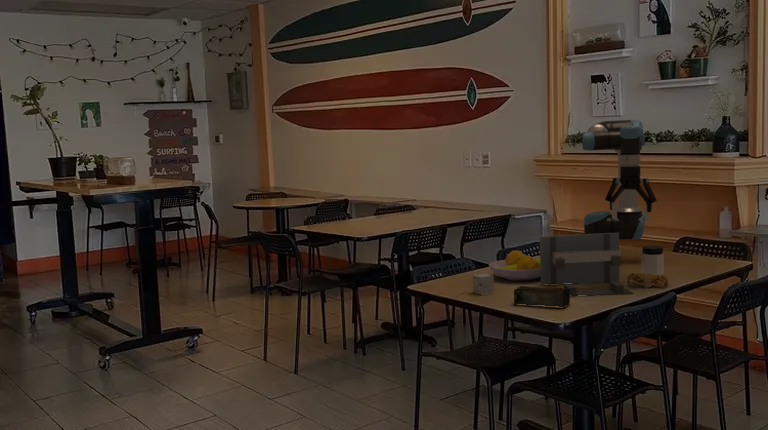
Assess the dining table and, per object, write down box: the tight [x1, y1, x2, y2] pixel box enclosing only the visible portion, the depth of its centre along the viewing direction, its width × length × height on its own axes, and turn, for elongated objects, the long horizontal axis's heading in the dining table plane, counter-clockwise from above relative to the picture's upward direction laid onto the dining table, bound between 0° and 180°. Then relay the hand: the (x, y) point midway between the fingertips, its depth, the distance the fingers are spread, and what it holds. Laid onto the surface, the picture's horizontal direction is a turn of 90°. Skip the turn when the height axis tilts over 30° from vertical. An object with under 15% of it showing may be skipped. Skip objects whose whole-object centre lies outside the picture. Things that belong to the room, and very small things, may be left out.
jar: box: [640, 245, 665, 276], centre depth 322 cm, size 9×8×12 cm
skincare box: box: [472, 272, 495, 295], centre depth 304 cm, size 6×6×7 cm
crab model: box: [626, 272, 669, 290], centre depth 305 cm, size 16×13×6 cm
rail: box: [553, 248, 622, 264], centre depth 303 cm, size 4×26×4 cm, turn 91°
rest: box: [563, 281, 634, 296], centre depth 295 cm, size 7×28×4 cm, turn 92°
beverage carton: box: [513, 285, 571, 307], centre depth 281 cm, size 8×19×7 cm, turn 60°
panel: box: [539, 233, 622, 286], centre depth 307 cm, size 14×32×20 cm, turn 91°
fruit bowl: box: [488, 249, 541, 282], centre depth 329 cm, size 28×27×11 cm
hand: (630, 219), depth 303 cm, fingers open, 13 cm apart
